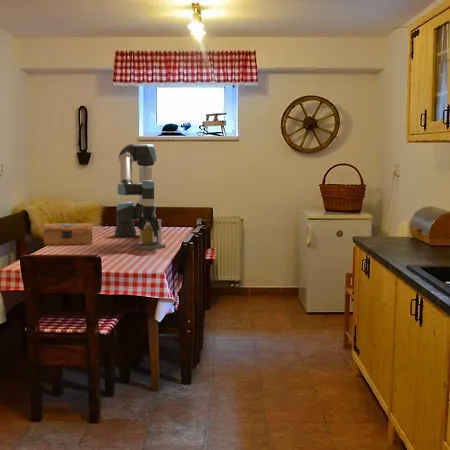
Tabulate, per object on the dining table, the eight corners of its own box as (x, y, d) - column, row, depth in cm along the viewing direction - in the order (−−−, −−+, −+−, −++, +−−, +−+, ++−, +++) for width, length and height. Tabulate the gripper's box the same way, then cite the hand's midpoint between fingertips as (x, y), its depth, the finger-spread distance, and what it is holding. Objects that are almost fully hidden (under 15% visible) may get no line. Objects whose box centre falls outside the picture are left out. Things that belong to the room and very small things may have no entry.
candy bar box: (142, 244, 393) (142, 219, 391) (146, 243, 397) (145, 218, 396) (158, 245, 389) (158, 219, 387) (161, 244, 394) (161, 219, 392)
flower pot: (141, 242, 379) (141, 228, 378) (155, 242, 379) (155, 228, 378) (140, 244, 370) (140, 230, 369) (155, 244, 371) (155, 230, 370)
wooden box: (42, 247, 377) (42, 225, 376) (45, 244, 393) (44, 222, 392) (92, 246, 383) (92, 224, 382) (92, 243, 399) (92, 222, 398)
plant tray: (131, 248, 375) (131, 244, 375) (150, 246, 385) (150, 242, 385) (146, 251, 364) (146, 246, 364) (165, 248, 375) (165, 244, 375)
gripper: (131, 204, 378) (131, 239, 380) (155, 207, 361) (155, 243, 363) (141, 204, 383) (141, 238, 386) (165, 206, 366) (165, 242, 369)
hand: (148, 240), depth 374 cm, fingers closed on flower pot, 12 cm apart
